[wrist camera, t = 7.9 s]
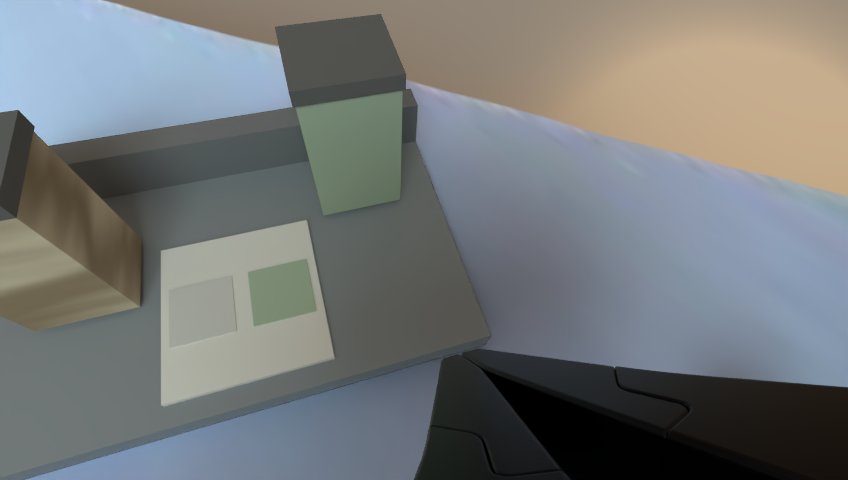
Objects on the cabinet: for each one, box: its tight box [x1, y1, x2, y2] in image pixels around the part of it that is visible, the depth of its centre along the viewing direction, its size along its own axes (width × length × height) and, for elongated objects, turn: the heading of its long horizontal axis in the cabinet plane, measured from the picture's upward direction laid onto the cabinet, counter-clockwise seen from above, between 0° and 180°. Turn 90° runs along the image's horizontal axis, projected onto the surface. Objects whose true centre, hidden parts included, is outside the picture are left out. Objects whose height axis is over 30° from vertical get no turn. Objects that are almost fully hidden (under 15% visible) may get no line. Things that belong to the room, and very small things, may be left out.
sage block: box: [275, 14, 406, 216], centre depth 22 cm, size 4×5×9 cm
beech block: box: [0, 110, 142, 331], centre depth 17 cm, size 4×5×9 cm
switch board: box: [0, 89, 491, 480], centre depth 22 cm, size 15×23×4 cm, turn 107°
